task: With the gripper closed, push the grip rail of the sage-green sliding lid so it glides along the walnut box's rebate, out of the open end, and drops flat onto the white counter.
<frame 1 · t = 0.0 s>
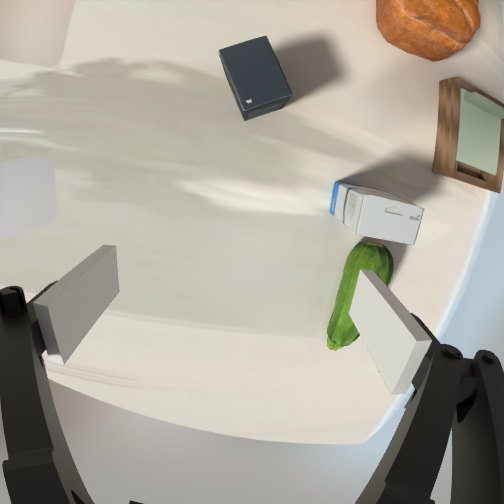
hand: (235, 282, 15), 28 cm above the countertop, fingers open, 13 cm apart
vegetable: (349, 292, 47), on the countertop
pencil box: (464, 136, 38), on the countertop
lid: (478, 132, 34), point 4 cm above the countertop, touching pencil box
ink box: (357, 201, 42), on the countertop
box: (253, 90, 37), on the countertop
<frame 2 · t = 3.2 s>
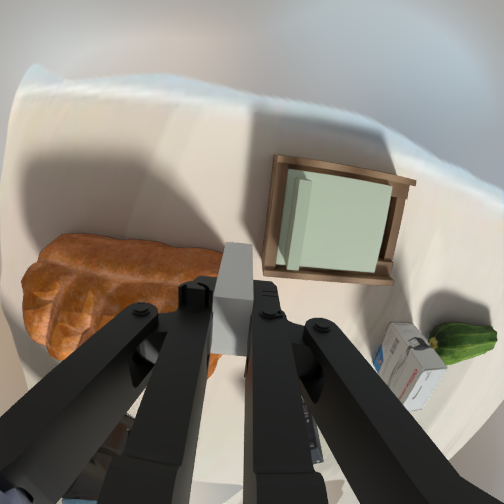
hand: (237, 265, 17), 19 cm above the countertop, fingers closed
vegetable: (460, 332, 43), on the countertop
pencil box: (332, 216, 36), on the countertop
lid: (334, 222, 32), point 4 cm above the countertop, touching pencil box
ink box: (392, 343, 43), on the countertop
bread: (140, 283, 39), on the countertop
box: (291, 414, 48), on the countertop
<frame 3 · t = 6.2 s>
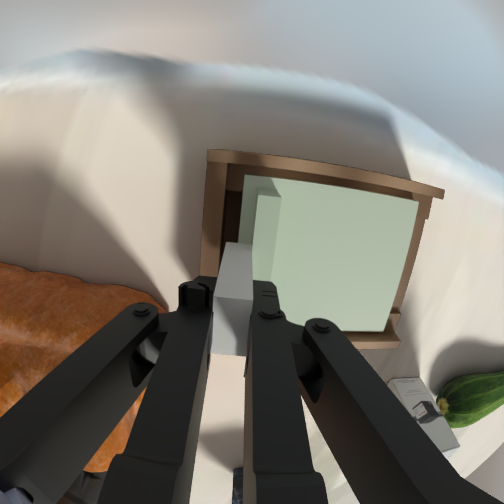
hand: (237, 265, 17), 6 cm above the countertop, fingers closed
vegetable: (476, 379, 31), on the countertop
pencil box: (310, 243, 24), on the countertop
lid: (324, 260, 20), point 4 cm above the countertop, touching gripper, pencil box
ink box: (391, 400, 31), on the countertop
bread: (64, 324, 27), on the countertop
box: (263, 470, 36), on the countertop
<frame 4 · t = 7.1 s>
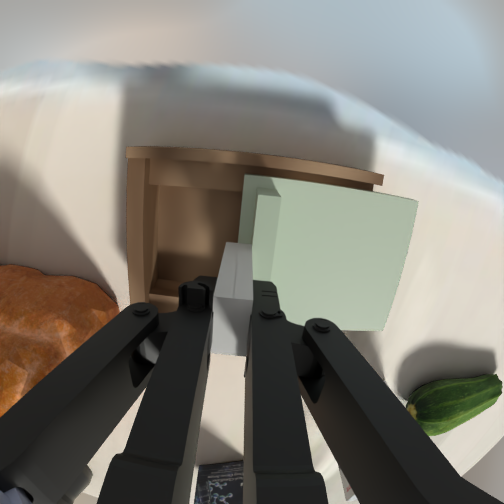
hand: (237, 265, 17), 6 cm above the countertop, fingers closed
vegetable: (454, 384, 31), on the countertop
pencil box: (246, 236, 23), on the countertop
lid: (324, 259, 20), point 4 cm above the countertop, touching gripper
bread: (32, 314, 27), on the countertop
box: (229, 468, 36), on the countertop
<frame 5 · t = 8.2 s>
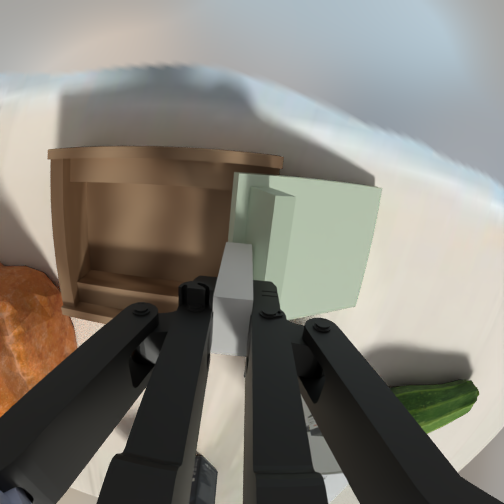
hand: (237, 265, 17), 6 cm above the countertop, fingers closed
vegetable: (421, 390, 31), on the countertop
pencil box: (166, 228, 23), on the countertop
lid: (305, 250, 21), point 2 cm above the countertop, tilted 24°, touching gripper
ink box: (304, 404, 30), on the countertop
box: (187, 463, 35), on the countertop
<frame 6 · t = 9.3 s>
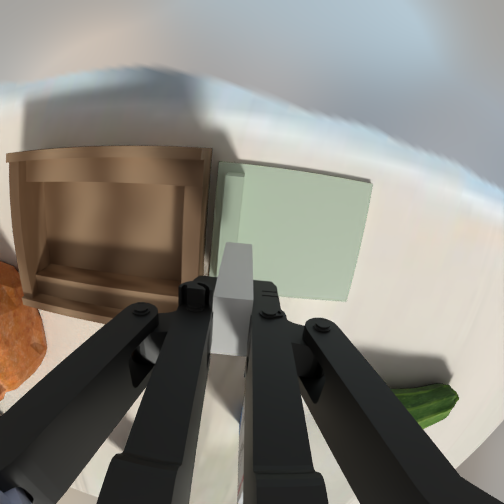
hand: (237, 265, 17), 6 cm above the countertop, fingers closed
vegetable: (393, 394, 31), on the countertop
pencil box: (113, 223, 23), on the countertop
lid: (288, 234, 24), on the countertop
ink box: (264, 403, 30), on the countertop
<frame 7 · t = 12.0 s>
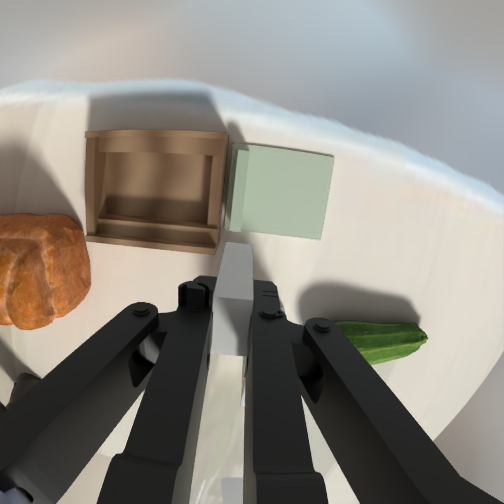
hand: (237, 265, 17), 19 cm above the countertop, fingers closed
vegetable: (369, 330, 42), on the countertop
pencil box: (159, 184, 35), on the countertop
lid: (278, 191, 35), on the countertop
bread: (28, 252, 38), on the countertop
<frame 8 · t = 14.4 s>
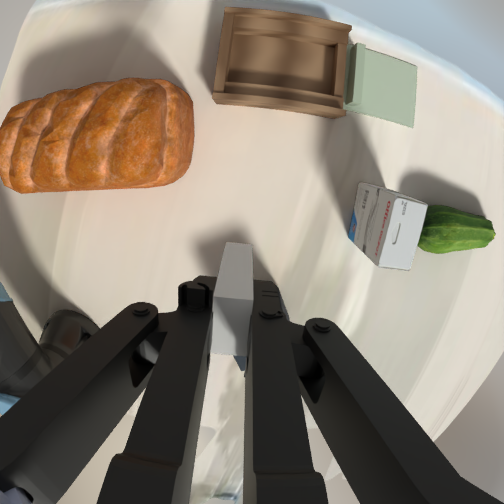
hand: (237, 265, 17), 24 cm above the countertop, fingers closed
vegetable: (450, 225, 42), on the countertop
pencil box: (281, 65, 34), on the countertop
lid: (379, 85, 35), on the countertop
ink box: (367, 212, 41), on the countertop
bread: (108, 138, 37), on the countertop
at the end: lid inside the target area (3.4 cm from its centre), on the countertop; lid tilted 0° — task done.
